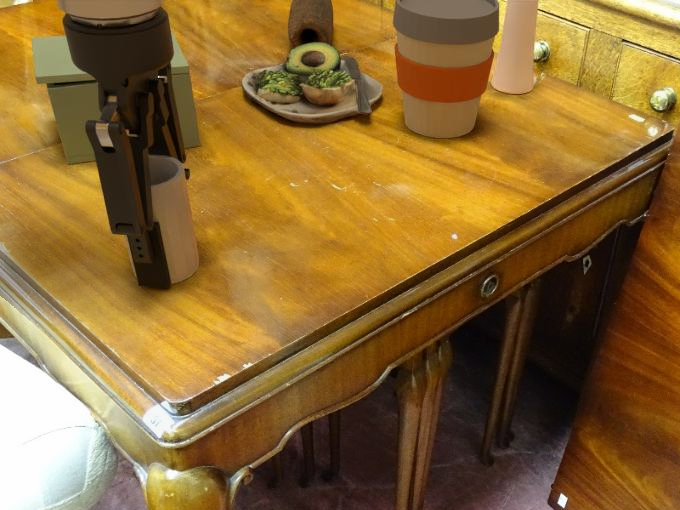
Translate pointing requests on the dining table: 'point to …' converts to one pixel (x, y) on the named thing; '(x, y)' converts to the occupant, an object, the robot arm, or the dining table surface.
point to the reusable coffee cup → (444, 62)
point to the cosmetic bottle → (517, 48)
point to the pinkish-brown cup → (172, 217)
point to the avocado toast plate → (313, 86)
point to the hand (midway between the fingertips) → (165, 262)
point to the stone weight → (310, 22)
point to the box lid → (59, 66)
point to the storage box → (82, 104)
